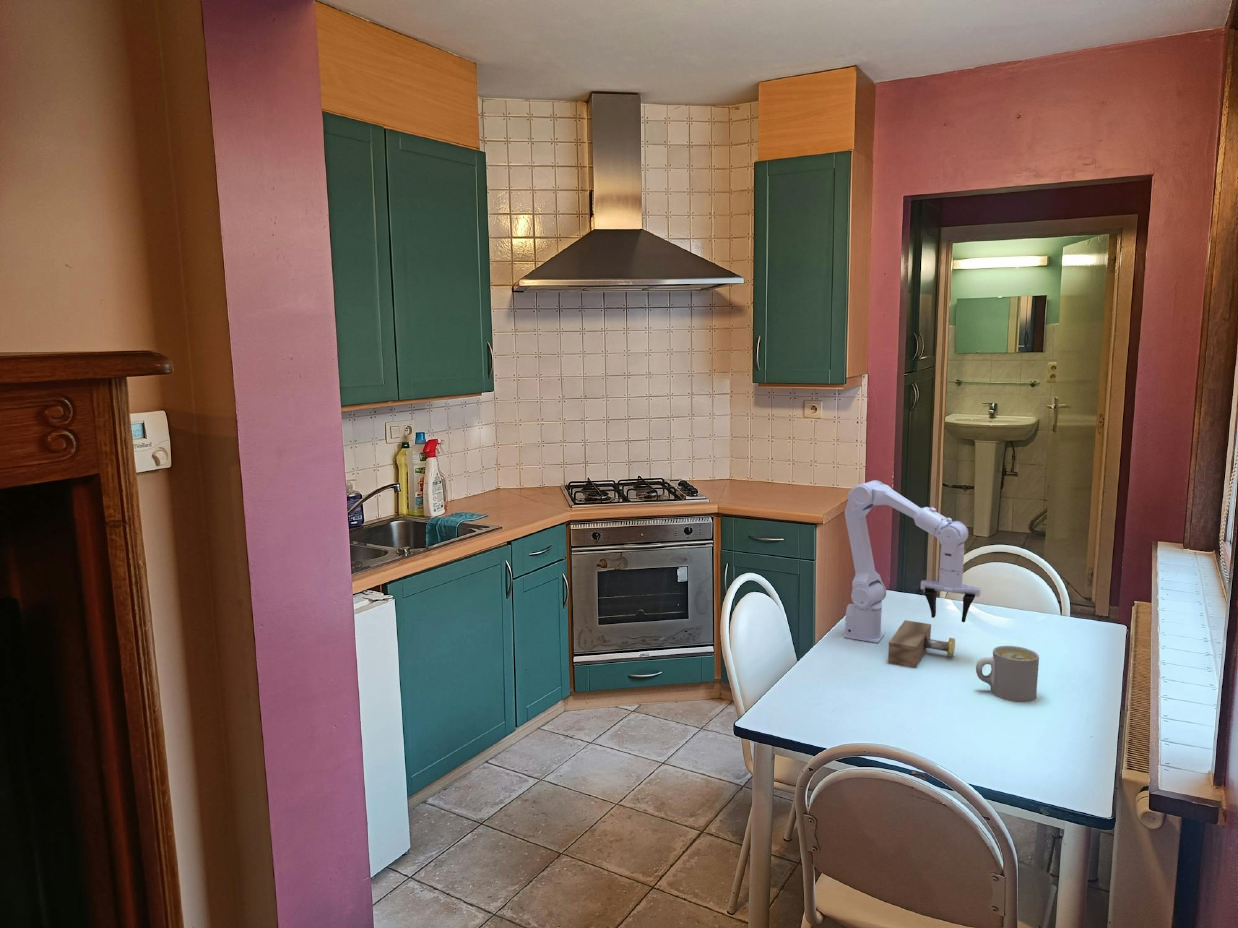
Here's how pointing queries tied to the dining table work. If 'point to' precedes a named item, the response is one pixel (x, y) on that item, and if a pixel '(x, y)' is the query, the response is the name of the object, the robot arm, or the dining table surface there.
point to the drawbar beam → (908, 644)
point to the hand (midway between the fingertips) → (948, 618)
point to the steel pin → (941, 645)
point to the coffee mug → (1011, 673)
